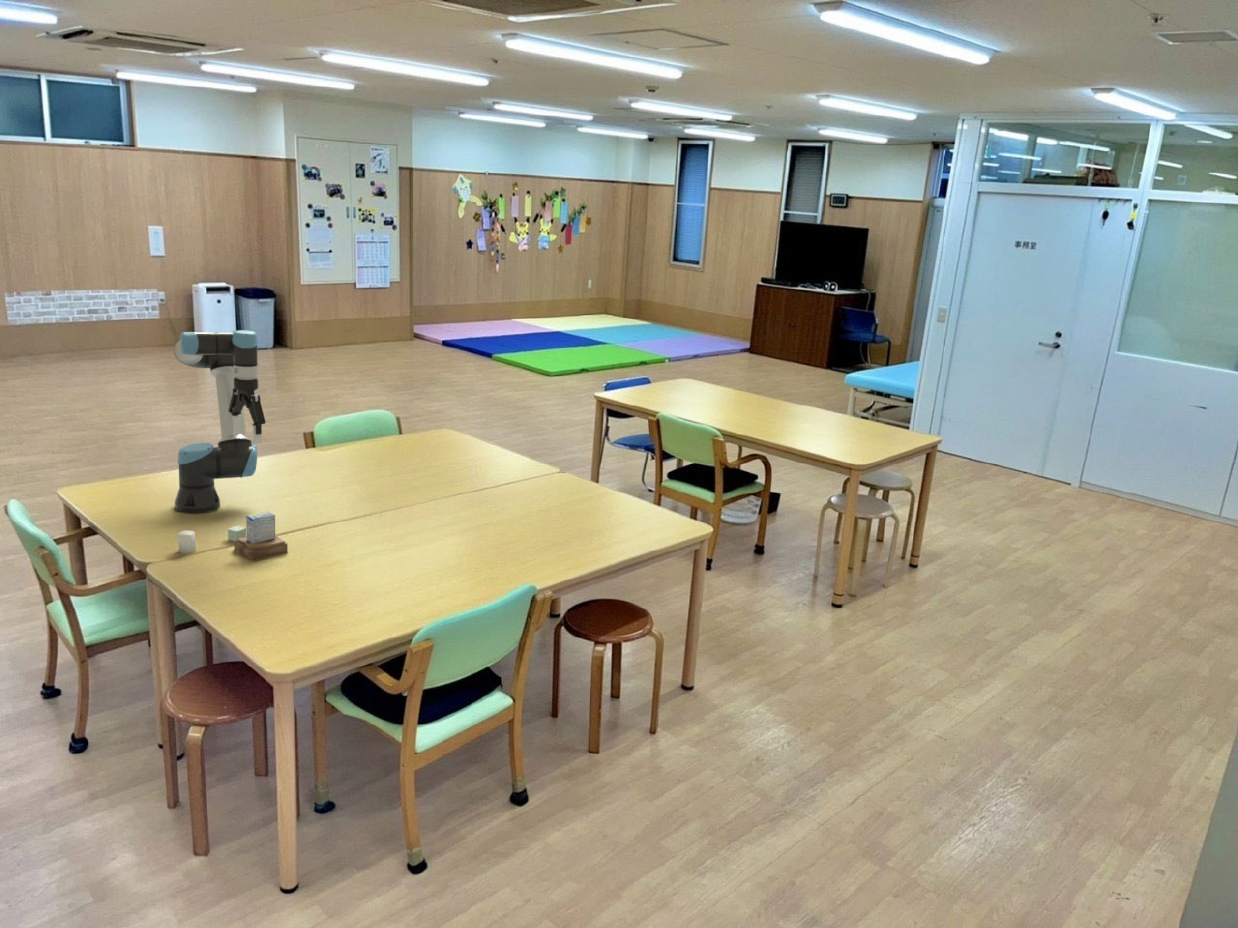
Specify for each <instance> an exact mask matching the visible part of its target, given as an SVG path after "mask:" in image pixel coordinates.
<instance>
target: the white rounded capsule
mask: <svg viewBox="0 0 1238 928" xmlns="http://www.w3.org/2000/svg"><path fill="white" fill-rule="evenodd" d="M177 544H178V547H177V548H178V553H180V554H191V553H194V552H195V551H196V532H195V531H193V530H181V531H179V532H178V533H177Z"/></svg>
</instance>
